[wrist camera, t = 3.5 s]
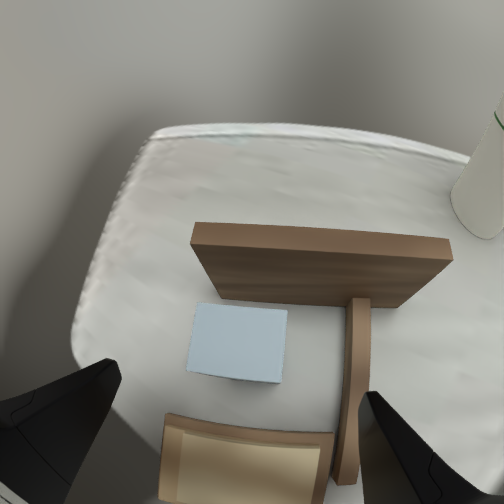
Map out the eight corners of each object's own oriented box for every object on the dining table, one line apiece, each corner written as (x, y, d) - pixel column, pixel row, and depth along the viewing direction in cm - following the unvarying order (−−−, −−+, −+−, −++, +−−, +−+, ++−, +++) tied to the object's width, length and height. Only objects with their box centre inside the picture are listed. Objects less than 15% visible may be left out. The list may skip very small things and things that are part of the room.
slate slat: (278, 384, 16) (281, 382, 8) (230, 379, 17) (185, 370, 9) (282, 347, 18) (287, 310, 9) (235, 343, 18) (197, 301, 10)
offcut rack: (378, 509, 11) (424, 554, 4) (161, 493, 13) (103, 532, 6) (396, 292, 18) (448, 238, 11) (192, 280, 20) (150, 220, 13)
